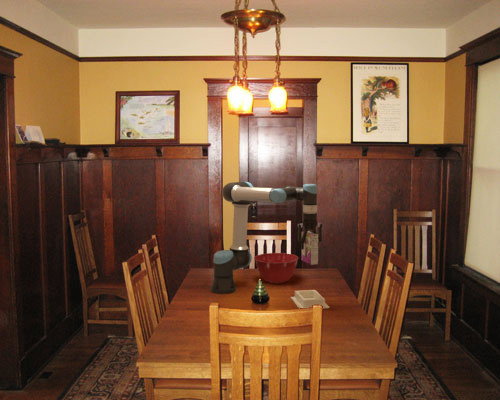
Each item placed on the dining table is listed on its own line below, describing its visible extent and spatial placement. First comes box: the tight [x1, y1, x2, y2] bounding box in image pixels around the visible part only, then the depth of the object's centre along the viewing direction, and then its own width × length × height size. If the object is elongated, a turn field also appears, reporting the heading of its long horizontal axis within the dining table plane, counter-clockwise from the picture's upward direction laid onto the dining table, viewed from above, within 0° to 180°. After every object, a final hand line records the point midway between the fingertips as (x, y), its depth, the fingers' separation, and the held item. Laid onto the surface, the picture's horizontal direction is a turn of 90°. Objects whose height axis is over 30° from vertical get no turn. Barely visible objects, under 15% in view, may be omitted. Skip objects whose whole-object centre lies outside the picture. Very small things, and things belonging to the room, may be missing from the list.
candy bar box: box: [300, 230, 319, 266], centre depth 254 cm, size 11×5×16 cm, turn 21°
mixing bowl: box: [254, 252, 299, 284], centre depth 300 cm, size 28×28×15 cm
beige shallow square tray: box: [290, 289, 330, 310], centre depth 257 cm, size 16×20×4 cm
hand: (309, 254), depth 254 cm, fingers closed on candy bar box, 6 cm apart
